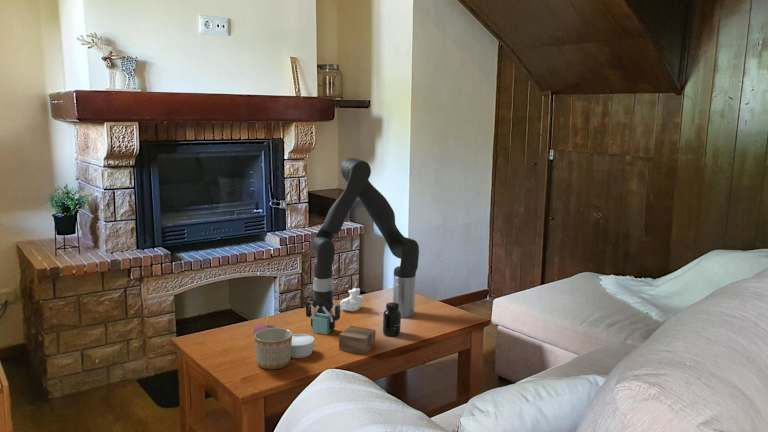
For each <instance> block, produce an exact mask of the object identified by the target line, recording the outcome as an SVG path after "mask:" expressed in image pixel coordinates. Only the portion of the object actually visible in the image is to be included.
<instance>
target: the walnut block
mask: <svg viewBox="0 0 768 432" xmlns="http://www.w3.org/2000/svg"><path fill="white" fill-rule="evenodd" d="M374 346H376V329H373V328H372V329H371V328H367V327H360V326H354V325H350V326H348V327H347V328H346V329H345V330H343V331H342V332H341V333H340V334H339V335H338V350H339V351H343V352H349V353H352V354H353V353H354V354H359V355H366V354H367V352H369V351H370V350H371V349H372V348H373V347H374Z"/></svg>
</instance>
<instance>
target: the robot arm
mask: <svg viewBox="0 0 768 432" xmlns="http://www.w3.org/2000/svg"><path fill="white" fill-rule="evenodd" d="M371 169H372V168H371V166H370V164H369V162H367V161H365V160H363V159H359V158H355V157H348V158H346V159H344V160H343V161H342V163H341V166H340V173H341V177H342V178H343V179H344V180H345V182H346V183H347V184H346V187H345V189H343V192H342V193H341V194H340V196H339V197H338V198H337V199H336V200H335V201H334V203H332V206H331V207H330V209H329V210H328V212H327V214H326V216H325V219H324V221H323V224H322V226H320V228H319V230H318V231H317V232H316V234H315V236H314V237H313V239H312V242H311V248H312V250H313V252H314V253H316V255H317V257H316V262H315V263H314V266H313V282H312V283H313V284H312V297H313V298H312V299H313V301H311V300H310V299H309V300H308V301H306V302H305V317H307V318H310V327H312V329H313V317H314V316H316V315H317V314H318V313H319V314H321V313H322V314H326V315H327V317H329V319H330V332H332V331H333V330H334V329H335V328H336V322H338V320H339V319H340V318H341V309H340V303H339V304H334V302H333V297H334V293H333V291H334V287H333V286H334V285H333V283H334V282H333V264H334V260H335V254H336V253H335V252H336V247H335V243H334V242H333V241H332V240H333V239H334V236H335V235H338V234H340V232H341V230H342V228H343V226H344V223H345V221H346V219H347V216H348V215H349V212H350V210H351V209H352V206H353V205H354V203H355V202H356V200H357V198H358V199H359V200H360V202H361V204H362V206H363V208H364V209H365V210H366V212H367V214H368V215H369V217H370V218H371V220H372V221H373V224H375V226H376V228H377V229H378V230H379V232H380V233H381V235H382V236H383V238H384V240H385V243H386V244H387V247H388V249H389V250H390V252H391V254H392V256H394V257H395V258H398V259H400V265H398V266H396V267H394V269H393V285H392V286H393V289H392V290H393V292H392V293H393V296H392V302H394V303H398V304H399V309H398V310H399V311H400V312H401V318H412V317H414V316H415V306H416V277H417V276H416V275H417V270H418V268H419V260H420V259H419V258H420V257H419V256H420V246H419V244H418V243H419V242H417V240H415V239H413V238H410V237H406V236H404V235H403V234H402V233H401V231H400V230H399V228H398V227H397V224H396V215H395V211H394V210H393V207H392V206H391V204H390V203H389V200H387V198H386V197H385V196H384V195H383V194H382V193H381V192H380V191H379V190H378V189H377V188H376V187H375V186H374V185H373V184H372V183H371V182H370V180H369V179H370V177H371V173H372V170H371ZM312 307H313V308H314V309H313V311H312Z"/></svg>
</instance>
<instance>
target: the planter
mask: <svg viewBox="0 0 768 432" xmlns="http://www.w3.org/2000/svg"><path fill="white" fill-rule="evenodd" d="M292 335H293V332H292V331H291V330H290V329H287V328H283V327H275V328H267V329H263V330H260V331H258V332H256V333H255V335H253V336H254V346H255V354H256V362H257V365H258V366H259V367H260V368H263V369H266V370H277V369H283V368H285V367H286V366H288V365H289V364H290V362H291V357H290V355H291V344H292Z"/></svg>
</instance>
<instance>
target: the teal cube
mask: <svg viewBox="0 0 768 432" xmlns="http://www.w3.org/2000/svg"><path fill="white" fill-rule="evenodd" d="M312 333H314V334H321V335H328V334H329V333H331V331H330V319H329V317H327V315H326V314H322V313H321V314H319V313H317V315H316V316H314V317H313V328H312Z"/></svg>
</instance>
